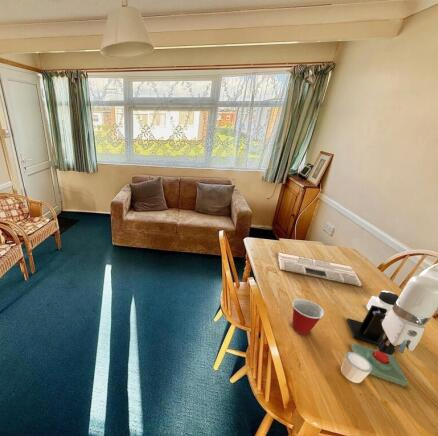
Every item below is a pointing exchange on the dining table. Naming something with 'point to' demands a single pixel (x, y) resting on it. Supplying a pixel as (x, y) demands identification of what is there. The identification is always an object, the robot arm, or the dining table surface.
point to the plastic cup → (305, 315)
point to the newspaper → (318, 269)
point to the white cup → (355, 367)
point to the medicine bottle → (383, 300)
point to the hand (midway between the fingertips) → (384, 351)
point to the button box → (382, 365)
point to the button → (381, 357)
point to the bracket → (369, 327)
